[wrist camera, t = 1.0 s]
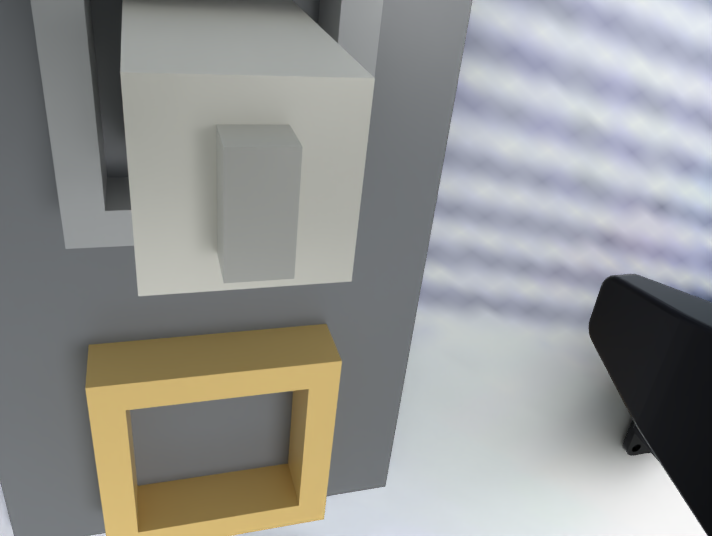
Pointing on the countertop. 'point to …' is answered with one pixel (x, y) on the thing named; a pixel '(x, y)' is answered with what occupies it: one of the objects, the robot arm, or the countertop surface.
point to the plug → (240, 145)
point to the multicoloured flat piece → (199, 298)
